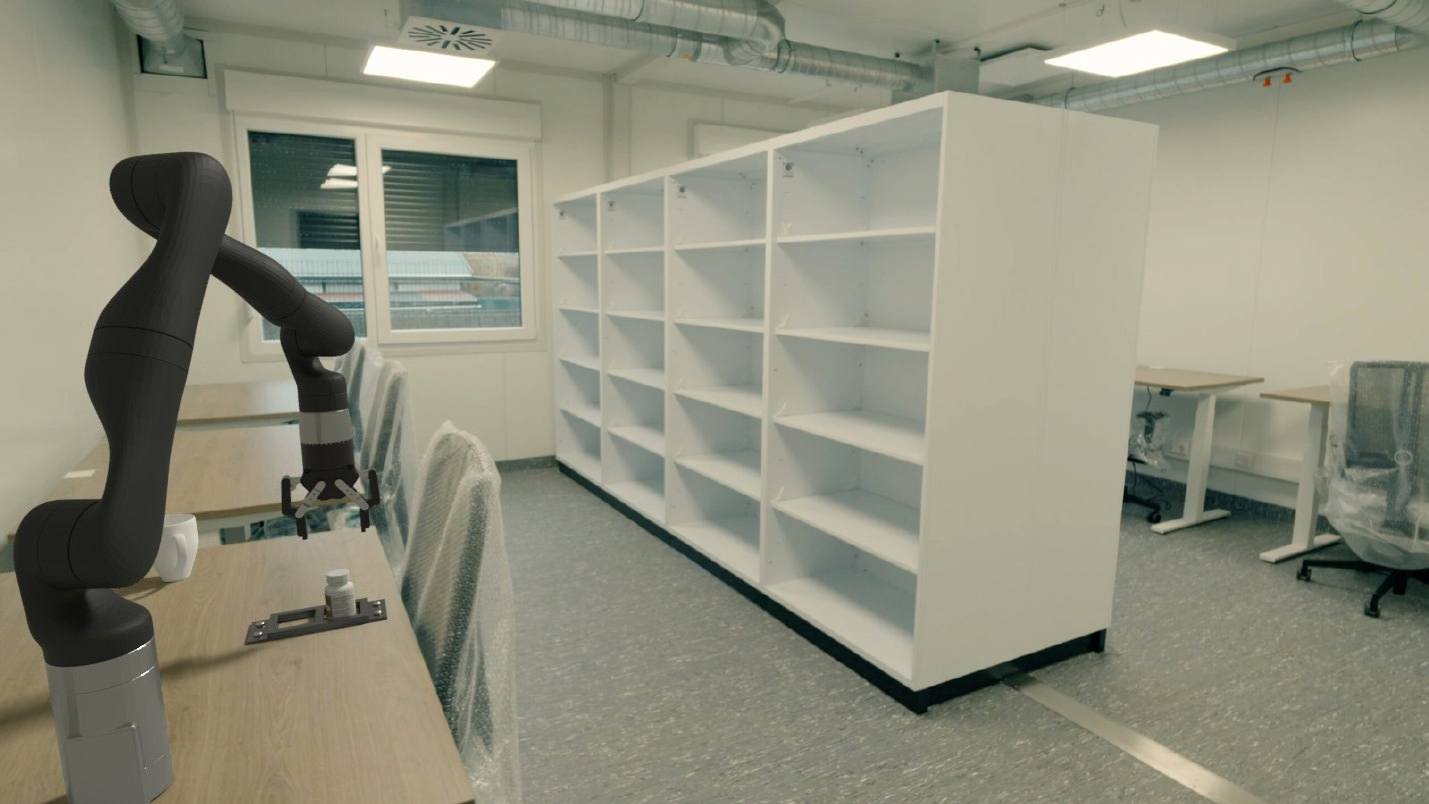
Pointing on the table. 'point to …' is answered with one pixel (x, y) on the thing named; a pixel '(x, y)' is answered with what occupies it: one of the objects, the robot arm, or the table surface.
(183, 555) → the mug
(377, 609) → the metal frame plate
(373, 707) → the table surface
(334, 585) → the pill bottle
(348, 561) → the table surface
